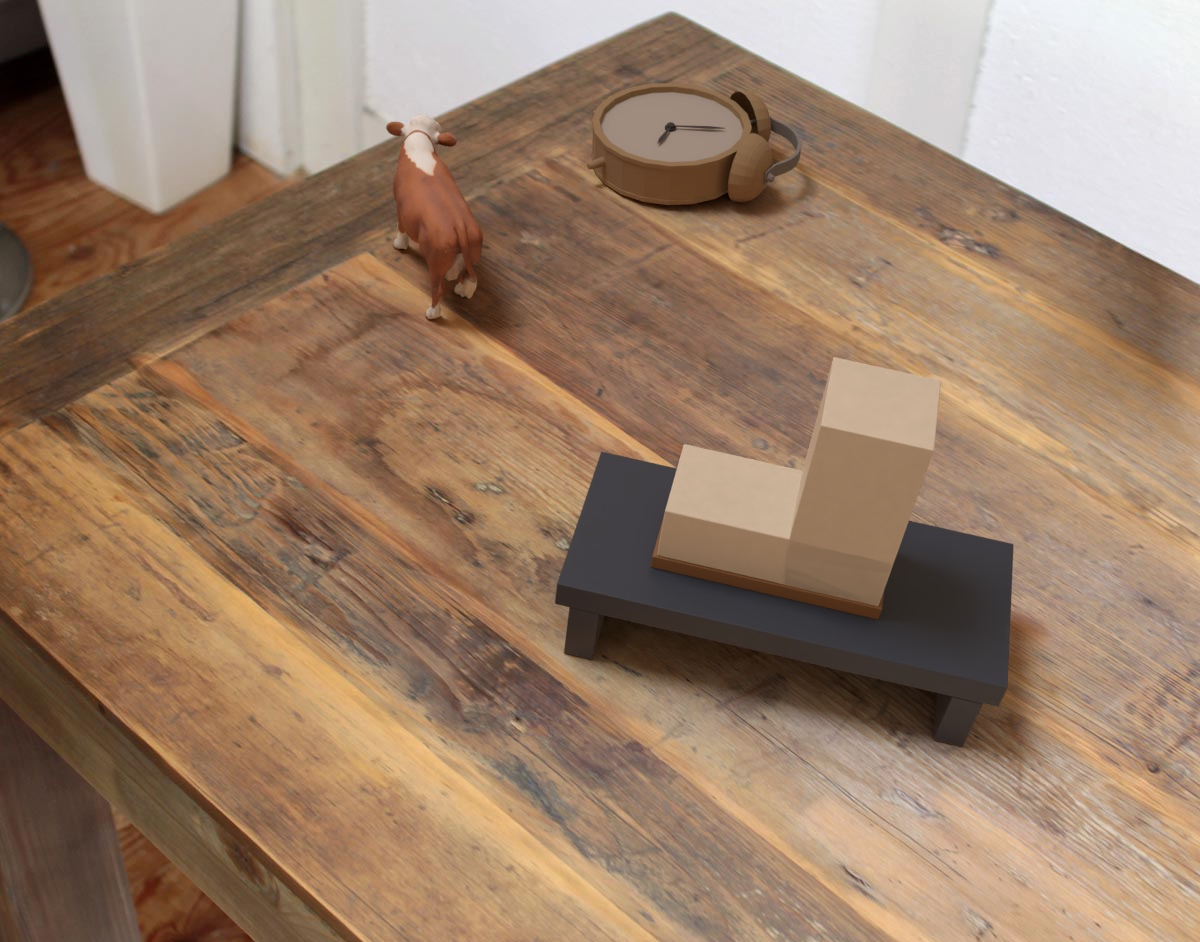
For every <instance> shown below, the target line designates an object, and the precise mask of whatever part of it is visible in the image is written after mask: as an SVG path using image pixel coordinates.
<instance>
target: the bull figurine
mask: <svg viewBox="0 0 1200 942" xmlns="http://www.w3.org/2000/svg"><path fill="white" fill-rule="evenodd" d="M385 129H386V131H387V133H389V135H392V136H395V137H404V138H405V139H404V140H403V143H402V145H401V146H400V150H399V154H398V155H399V156H398V160H397V162H398V163H397V166H396V170H395V174H394V176H393V180H392V181H393V182H392V194H393V197H394V200H395V202H396V217H397V224H396V228H397V231H398V233H397V236H396V238H395V239H393V242H392V247H393V248H394V249H395V250H400V249H403V250H407V249H408V247H409V239H410V240H411V241H412V242H414V243H415V244H416V245H417V246H419V249H420V251H421V253H422V255H423V256H424V258H425V261H426V263H427V266H428V269H429V281H430V286H431V289H430V296H431V304H430V306H429V307H428V308H427V310H426V311H425V312H424V316H425V318H427V320H436V319H438V318H440V317H441V315H442V307H441V299H442V297H443V295H444V294H445V279H446V281H450V282H451V281H453V280H457V279H458V277H459V282H457V284H456V285H455V287H454V289H453V292H454V293H455V294H456V295H458V296H460V297H461V298H465V297H466V298H467V299H471V298H472V297H473V296H474V293H475V291H476V290H477V286H478V278H477V275H476V273H475V271H474V269H473V266H475V265H476V264H477V263H478V260H479V259H480V256H481V254H482V252H483V251H482V250H483V243H484V234H483V231H482V229H481V227H480V226H479V224H478V223H477V221H476V220H475V218H474V214H473V212H472V210H471V207H470V205H469V204H468V203H467V200H466V199H465V196H464V195H463V193H462V191H461V189H460V187H459V186H458V184H457V182H456V180H455V178H454V176H453V174H452V172H451V170H450V168H449V167H448V165H446V163H445V162H444V161H443V160H442V159H441V158H440V157H438V155H437V154H438V153H439V151H440V146H443V147H454V146H456V145H457V142H458V140H457V138H456V136H455V135H454V134H452V133H451V132H442V126H441V125H440V123H439V122H438V121H436V120H435V119H434V118H433V117H431V116H429V115H427V114H417V115H414V116H413V117H412V118H410V121H409V123H408V124H407V125H406V124H404V123H403V122H401V121H390V122H388V123H387V124H386V126H385Z"/></svg>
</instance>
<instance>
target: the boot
mask: <svg viewBox="0 0 1200 942" xmlns="http://www.w3.org/2000/svg"><path fill="white" fill-rule="evenodd" d="M941 385H942V380H941V379H937V378H932V377H927V376H924V375H923V376H922V375H918V374H914V373H909V372H905V371H901V370H895V369H891V368H886V367H882V366H877V365H873V364H869V363H863V362H860V361H859V362H858V361H855V360H849V359H846V358H840V357H837V356H834V357H832V361H831V364H830V367H829V372H828V376H827V378H826V383H825V387H824V390H823V394H822V398H821V401H820V405H819V407H818V413H817V416H816V420H815V423H814V427H813V430H812V434H811V438H810V442H809V446H808V449H807V453H806V456H805V460H804V463H803V466H802V469H797V468H793V467H788V466H785V465H784V466H783V465H780V464H775V463H771V462H766V461H763V460H758V459H753V458H750V457H749V458H748V457H745V456H739V455H735V454H731V453H726V452H722V451H718V450H713V449H709V448H705V447H700V446H696V445H692V444H687V443H684V444H683V445H682V448H681V452H680V457H679V460H678V463H677V467H676V468H677V470H676V474H675V477H674V481H673V484H672V488H671V491H670V495H669V499H668V502H667V506H666V509H665V513H664V517H663V520H662V524H661V527H660V531H659V534H658V538H657V541H656V545H655V549H654V552H653V556H652V561H651V567H652V568H657V569H661V570H665V571H670V572H674V573H678V574H683V575H687V576H691V577H696V578H700V579H704V580H709V581H713V582H717V583H721V584H726V585H730V586H734V587H739V588H743V589H747V590H752V591H756V592H760V593H765V594H769V595H773V596H778V597H782V598H786V599H791V600H795V601H799V602H804V603H808V604H812V605H817V606H821V607H825V608H830V609H834V610H838V611H842V612H847V613H851V614H855V615H860V616H864V617H868V618H873V619H877V620H878V619H879V616H880V613H881V611H882V605H883V597H884V589H885V586H886V583H887V581H888V578H889V575H890V572H891V569H892V567H893V564H894V561H895V558H896V555H897V553H898V550H899V547H900V544H901V541H902V539H903V536H904V533H905V530H906V527H907V525H908V522H909V521H910V520H911V516H912V513H913V510H914V508H915V504H916V502H917V499H918V496H919V493H920V491H921V489H922V485H923V484H924V483H923V482H924V480H925V478H926V477H925V476H926V474H927V472H928V468H929V465H930V463H931V460H932V457H933V455H934V451H935V447H936V446H935V444H936V435H937V426H938V416H939V407H940V397H941V387H942V386H941Z"/></svg>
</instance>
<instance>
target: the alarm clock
mask: <svg viewBox="0 0 1200 942" xmlns="http://www.w3.org/2000/svg"><path fill="white" fill-rule="evenodd" d="M591 115H592V116H593V117H592V119H591V125H592V143H591V145H592V147H591V149H592V150H591V151H592V152H591V154H590V155H591V158H590V159H591V161H590V162H588V163H587V164H586V167H587V169H588V170H593V172H594V173H595V174H596V175H597V177H598V178H599V180H600V181H601V182H602V183H603V184H604V185H605V186H607V187H609V188H610V189H612V190H613V191H615V192H616V193H618V194H620V195H622V196H625V197H628V198H630V199H634V200H637V201H640V202H642V203H649V204H658V205H665V206H676V205H677V206H679V205H696V204H698V203H703V202H708V201H712V200H716V199H717V198H719V197H721V196H724V195H726V194H727V193H728V197H729V199H730V200H731V201H733V202H738V203H744V202H750V201H752V200H754V199H755V198H757V197H758V196H759V195H760V194H761V193H762V192H763V191H764V189H765V188H766V186H767V184H768V183H772V182H774V181H775V178H776V177H779V176H782V175H784V174H786V173H788V172H790V171H792V170H793V169H795V167H797V166H798V164H799V162H800V160H801V159H800V158H801V150H802V143H803V142H802V139H801V136H800V134H799V132H798V131H797V130H796V129H795V128H793V127H792V126H790V125H789V124H787V123H786V122H783V121H780V120H779V119H776V118H775V117H773V116H771V115H770V112H769V109H768V107H767V105H766V103H765V101H763V99H762V98H761V97H760V96H759V95H757V94H755V93H754V92H752V91H749V90H748V91H747V90H737V91H734V92H733V93H732V94H731V95H730V97H728V96H726V95H724V94H723V93H720V92H718V91H715V90H712V89H709V88H705V87H702V86H699V85H695V84H694V85H693V84H687V83H686V84H685V83H677V82H666V83H665V82H661V83H660V82H659V83H646V84H641V85H636V86H631V87H628V88H625V89H622V90H620V91H617V92H616V93H614V94H611V95H609V96H608V97H607V98H606V99H604V100H603V101H602V102H601V103H600V104H598V106H597V107H596V109H594V110H593V111H592V114H591ZM772 132H773V133H774V134H777V135H779V136H781V137H783V138H784V139H786V140H787V141H788V142H789V143H791V145H792V147H793V148H794V153H793V154H792V155H791V156H789V157H788V158H786V159H784V160H782V161H779V162H777V163H774V157H773V151H772V148H771V146H770V144H769V141H770V138H771V134H772Z"/></svg>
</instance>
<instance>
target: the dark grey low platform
mask: <svg viewBox="0 0 1200 942" xmlns="http://www.w3.org/2000/svg"><path fill="white" fill-rule="evenodd" d="M676 470H677V467H674V466H673V467H672V466H669V465H668V466H667V465H665V464H659V463H655V462H650V461H646V460H642V459H637V458H632V457H628V456H623V455H619V454H616V453H615V454H614V453H610V452H605V451H601V452H600V454H599V457H598V460H597V463H596V466H595V469H594V471H593V475H592V478H591V480H590V484H589V487H588V490H587V492H586V495H585V498H584V502H583V505H582V508H581V511H580V513H579V517H578V520H577V523H576V525H575V529H574V532H573V535H572V539H571V541H570V544H569V547H568V549H567V552H566V556H565V559H564V561H563V565H562V568H561V570H560V574H559V576H558V579H557V582H556V590H555V596H554V597H555V598H554V604H555V605H559V606H563V607H566V608H569V609H568V616H567V623H566V631H565V640H564V648H563V654H566V655H570V656H573V657H578V658H583V659H586V660H593V659H594V655H595V652H596V649H597V645H598V642H599V638H600V635H601V632H602V628H603V625H604V621H605V618H606V617H609V618H613V619H618V620H623V621H627V622H631V623H636V624H640V625H644V626H649V627H653V628H657V629H661V630H666V631H669V632H674V633H678V634H683V635H687V636H691V637H696V638H700V639H704V640H709V641H712V642H717V643H721V644H726V645H730V646H734V647H738V648H742V649H747V650H752V651H755V652H760V653H764V654H768V655H772V656H778V657H781V658H786V659H790V660H794V661H799V662H803V663H806V664H811V665H816V666H820V667H824V668H829V669H833V670H838V671H842V672H846V673H850V674H855V675H858V676H863V677H867V678H872V679H876V680H880V681H883V682H889V683H893V684H896V685H902V686H906V687H910V688H915V689H918V690H924V691H928V692H932V693H936V704H935V714H934V725H933V727H934V728H933V736H932V737H933V739H932V740H933V741H935V742H940V743H945V744H948V745H953V746H957V747H961V748H962V747H964V745H965V743H966V741H967V738H968V736H969V734H970V732H971V730H972V728H973V726H974V723H975V721H976V720H977V717H978V714H979V713H980V711H981V708H982V707H983V704H984V705H988V706H992V707H995V708H998V707H1000V705H1001V702H1002V701H1003V698H1004V696H1005V694H1006V693H1007V690H1008V688H1009V687H1008V686H1009V664H1010V663H1009V662H1010V642H1011V641H1010V640H1011V638H1010V637H1011V620H1012V619H1011V618H1012V617H1011V616H1012V615H1011V614H1012V594H1013V592H1012V590H1013V572H1014V571H1013V568H1014V567H1013V566H1014V543H1011V542H1007V541H1002V540H997V539H994V538H990V537H989V538H988V537H984V536H980V535H975V534H971V533H967V532H962V531H958V530H953V529H948V528H945V527H940V526H936V525H930V524H927V523H921V522H918V521H913V520H909V522H908V525H907V527H906V530H905V533H904V536H903V539H902V541H901V544H900V547H899V550H898V553H897V555H896V558H895V561H894V564H893V567H892V569H891V572H890V575H889V578H888V581H887V583H886V586H885V589H884V597H883V605H882V611H881V613H880V616H879V619H878V620H877V619H873V618H868V617H864V616H860V615H855V614H851V613H847V612H842V611H838V610H834V609H830V608H825V607H821V606H817V605H812V604H808V603H804V602H799V601H795V600H791V599H786V598H782V597H778V596H773V595H769V594H765V593H760V592H756V591H752V590H747V589H743V588H739V587H734V586H730V585H726V584H721V583H717V582H713V581H709V580H704V579H700V578H696V577H691V576H687V575H683V574H678V573H674V572H670V571H665V570H661V569H657V568H652V567H651V561H652V556H653V552H654V549H655V545H656V541H657V538H658V534H659V531H660V527H661V524H662V520H663V517H664V513H665V509H666V506H667V502H668V499H669V495H670V491H671V488H672V484H673V481H674V477H675V474H676Z"/></svg>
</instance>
